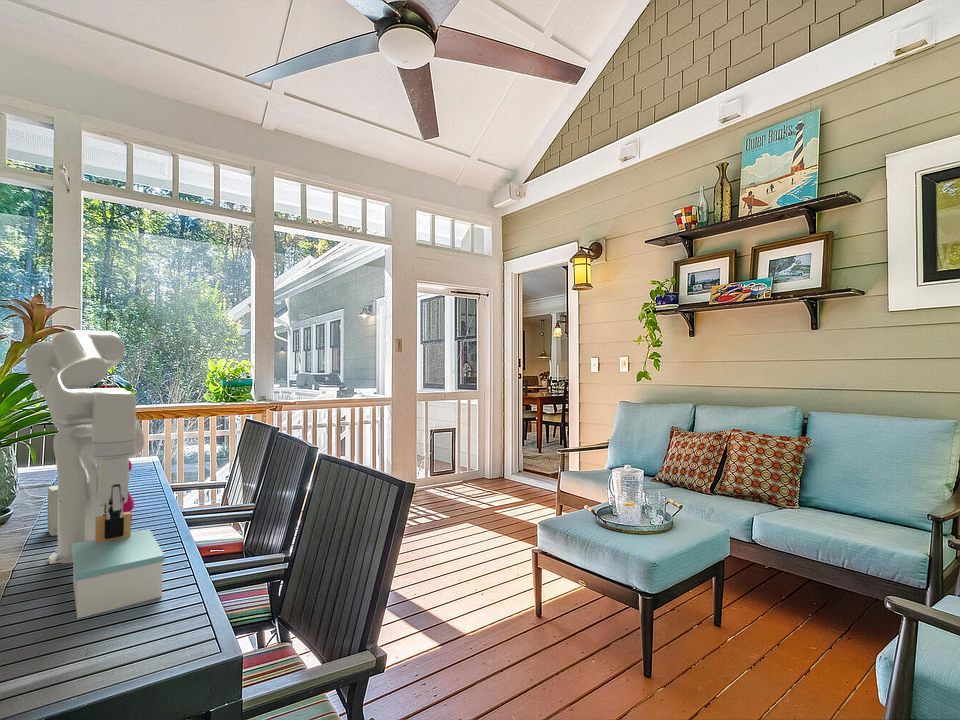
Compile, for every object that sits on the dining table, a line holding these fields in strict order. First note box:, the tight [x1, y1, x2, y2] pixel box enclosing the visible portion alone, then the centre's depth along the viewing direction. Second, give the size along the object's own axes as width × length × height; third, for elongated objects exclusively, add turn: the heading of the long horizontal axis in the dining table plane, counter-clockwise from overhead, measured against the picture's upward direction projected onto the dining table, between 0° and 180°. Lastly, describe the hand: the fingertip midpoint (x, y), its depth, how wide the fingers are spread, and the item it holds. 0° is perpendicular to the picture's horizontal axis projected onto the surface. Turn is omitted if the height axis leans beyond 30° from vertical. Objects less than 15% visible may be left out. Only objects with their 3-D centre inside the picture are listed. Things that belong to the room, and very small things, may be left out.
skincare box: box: [47, 485, 58, 537], centre depth 135 cm, size 6×4×12 cm
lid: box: [72, 511, 165, 581], centre depth 101 cm, size 19×14×8 cm
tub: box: [72, 562, 163, 620], centre depth 101 cm, size 18×13×8 cm
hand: (113, 533), depth 107 cm, fingers open, 3 cm apart
